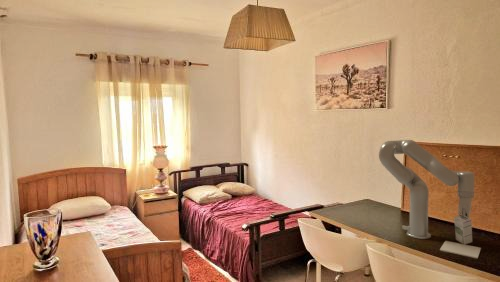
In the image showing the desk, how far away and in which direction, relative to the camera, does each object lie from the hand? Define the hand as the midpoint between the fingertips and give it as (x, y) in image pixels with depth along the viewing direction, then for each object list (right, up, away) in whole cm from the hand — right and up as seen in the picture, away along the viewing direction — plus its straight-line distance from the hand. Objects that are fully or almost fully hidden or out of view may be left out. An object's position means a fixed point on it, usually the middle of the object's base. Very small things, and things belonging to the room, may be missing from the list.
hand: (465, 226), depth 176 cm
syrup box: (-2, -8, -2) cm, 8 cm away
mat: (-10, -9, -11) cm, 17 cm away
